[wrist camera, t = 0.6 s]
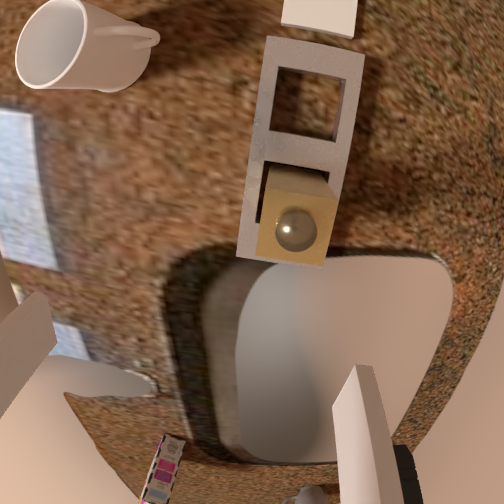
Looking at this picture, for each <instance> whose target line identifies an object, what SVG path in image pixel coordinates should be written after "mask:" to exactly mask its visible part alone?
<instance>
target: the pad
mask: <svg viewBox="0 0 504 504" xmlns="http://www.w3.org/2000/svg"><path fill="white" fill-rule="evenodd" d="M357 1H358V0H284V7H283V13H282V20H281V26H288V27H294V28H300V29H306V30H312V31H317V32H322V33H327V34H331V35H336V36H340V37H344V38H348V39H352V38H353V37H354V29H355V20H356V11H357Z"/></svg>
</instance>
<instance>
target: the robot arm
mask: <svg viewBox="0 0 504 504" xmlns="http://www.w3.org/2000/svg"><path fill="white" fill-rule="evenodd" d="M56 344H57V339H56V335H55V331H54V327H53V323H52V319H51V314H50V310H49V305H48V300H47V296H46V295H43V294H41V293H38V292H35V291H34V292H33V293H32V294H31V295H30V296H29V297H28V298H27V299H25V300H24V301H23V302H22V303H21V304H20V305H19V306H18V307H17V308H16V309H15V310H14V311H13V312H12V313H11V314H9V315H8V316H7V317H6V319H4V320H3V321H2V322H1V323H0V418H1V417H2V416H3V414H4V413H5V411H6V410H7V408H8V407H9V406H10V404H11V403H12V401H13V400H14V399H15V397H16V396H17V394H18V393H19V391H20V390H21V389H22V388H23V386H24V385H25V384H26V382H27V381H28V380H29V378H30V377H31V376H32V374H33V373H34V372H35V370H36V369H37V368H38V366H39V365H40V364H41V362H42V361H43V360H44V359H45V357H46V356H47V355H48V354H49V352H50V351H51V350H52V349H53V347H54V346H55V345H56ZM332 410H333V419H334V428H335V438H336V447H337V460H338V471H339V484H340V498H341V504H423V499H422V494H421V489H420V485H419V480H417V478H418V476H417V472H416V470H415V468H416V467H415V463H414V459H413V455H412V454H411V452H410V451H409V449H408V448H407V447H406V445H405V444H404V445H392V441H391V436H390V433H389V428H388V424H387V420H386V416H385V412H384V408H383V404H382V400H381V396H380V393H379V389H378V385H377V382H376V378H375V374H374V371H373V367H372V366H365V365H354V368H353V369H352V371H351V373H350V375H349V377H348V379H347V381H346V383H345V385H344V386H343V388H342V390H341V392H340V394H339V396H338V398H337V399H336V401H335V403H334V404H333V406H332Z"/></svg>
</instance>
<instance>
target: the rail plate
mask: <svg viewBox="0 0 504 504" xmlns="http://www.w3.org/2000/svg"><path fill="white" fill-rule="evenodd" d="M364 59H365V55H364V54H360V53H357V52H353V51H349V50H345V49H341V48H336V47H332V46H327V45H322V44H317V43H312V42H307V41H301V40H295V39H289V38H282V37H275V36H267V39H266V45H265V52H264V58H263V65H262V71H261V78H260V85H259V92H258V98H257V105H256V112H255V119H254V126H253V133H252V140H251V147H250V154H249V161H248V169H247V176H246V183H245V191H244V198H243V206H242V213H241V221H240V228H239V236H238V244H237V251H236V256H237V257H243V258H249V259H256V260H262V261H268V262H274V263H280V264H287V265H293V266H300V267H306V268H312V269H318V270H322V268H323V266H318V265H311V264H305V263H299V262H293V261H286V260H280V259H274V258H268V257H262V256H255V252H256V245H257V239H258V233H259V226H260V220H261V216H260V215H257V209H258V202H259V196H260V189H261V182H262V176H263V169H264V162H265V160H266V161H272V162H279V163H285V164H291V165H296V166H302V167H307V168H313V169H318V170H323V171H326V173H325V178H324V179H325V181H326V182H327V184H328V185H329V187H330V188H331V190H332V191H333V193H334V194H335V196H336V198H337V199H338V203H339V198H340V194H341V189H342V185H343V180H344V175H345V170H346V166H347V161H348V156H349V150H350V145H351V140H352V135H353V129H354V123H355V118H356V112H357V106H358V100H359V94H360V87H361V80H362V74H363V66H364ZM278 70H282V71H289V72H295V73H300V74H306V75H311V76H317V77H321V78H326V79H331V80H335V81H340V82H341V87H340V94H339V100H338V106H337V112H336V118H335V124H334V130H333V135H332V141H330V140H326V139H321V138H316V137H310V136H305V135H300V134H294V133H288V132H282V131H276V130H269V129H270V123H271V116H272V109H273V103H274V96H275V89H276V83H277V76H278ZM337 207H338V206H337ZM336 212H337V210H336ZM335 216H336V215H335ZM334 220H335V219H334ZM333 224H334V223H333ZM332 229H333V227H332ZM331 233H332V232H331ZM330 237H331V236H330ZM329 241H330V240H329ZM328 245H329V244H328ZM327 249H328V248H327ZM326 253H327V252H326ZM325 257H326V256H325ZM323 264H324V263H323Z"/></svg>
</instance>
